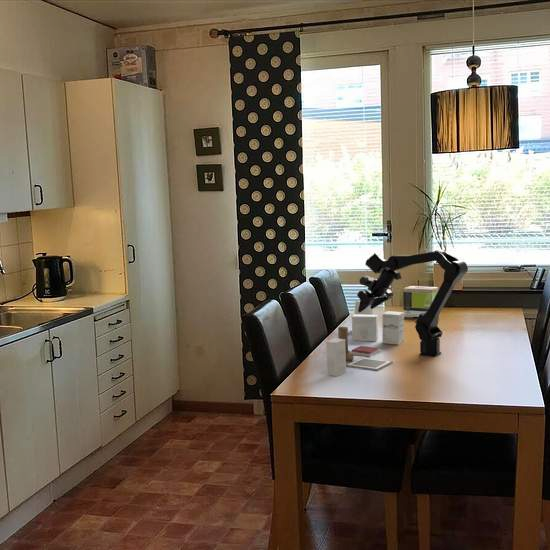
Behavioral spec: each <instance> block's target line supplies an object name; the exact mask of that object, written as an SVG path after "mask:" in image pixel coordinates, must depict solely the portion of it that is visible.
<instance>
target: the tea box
mask: <svg viewBox="0 0 550 550" xmlns="http://www.w3.org/2000/svg"><path fill="white" fill-rule="evenodd" d="M438 290H439V287H438V286H420V285H418V286H417V285H409V286H407V287H404V288H403V291H402V293H403V295H402V297H403V299H402V301H403V304H402V305H403V312H404V318H413V317H419V315H420V314H421V313H424V312H427V311H428V309H429V307H430V305H431V303H432V302H433V300H434V298H435V296H436V294H437V292H438Z"/></svg>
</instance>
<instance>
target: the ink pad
mask: <svg viewBox="0 0 550 550" xmlns="http://www.w3.org/2000/svg"><path fill="white" fill-rule="evenodd" d="M349 351H350V352H351V353H353V356H364V357H368V358H369V357H370V358H371V357H372V356H375V355H377V354H379V353H381V349H380V348H379V347H375V346H367V345H358V346H356V347H355V348H353V349H351V350H349Z"/></svg>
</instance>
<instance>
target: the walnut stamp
mask: <svg viewBox="0 0 550 550" xmlns="http://www.w3.org/2000/svg"><path fill="white" fill-rule="evenodd" d="M337 328H338V329H337V333H338V335H337V336H338V337H337V338H338V339H345V348H346V363H351V362H353V361H354V355H353V353H351V352H350V351H351V350H349V327H348V326H339V327H337Z"/></svg>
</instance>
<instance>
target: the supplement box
mask: <svg viewBox="0 0 550 550" xmlns="http://www.w3.org/2000/svg"><path fill="white" fill-rule="evenodd" d="M381 338H382V344H389V345H398V346H399V345H401V344H402V343H403V341H405V317H404V311H394V310H393V311H392V310H391V311H390V310H386V311H385V312H383V313H382V335H381Z"/></svg>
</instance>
